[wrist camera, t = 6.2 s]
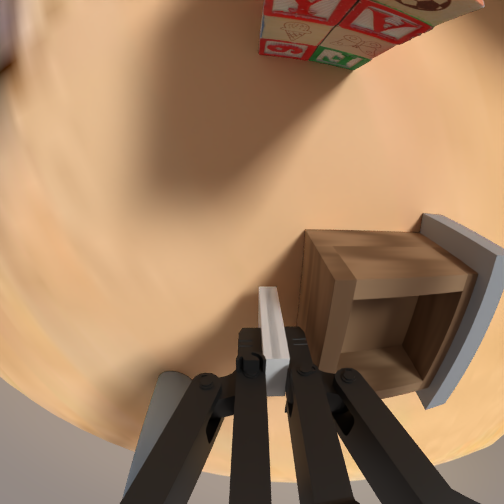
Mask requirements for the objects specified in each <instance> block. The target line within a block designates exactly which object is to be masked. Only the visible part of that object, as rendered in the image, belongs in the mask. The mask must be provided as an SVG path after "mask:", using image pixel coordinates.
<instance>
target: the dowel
mask: <svg viewBox="0 0 504 504" xmlns="http://www.w3.org/2000/svg"><path fill="white" fill-rule="evenodd" d="M191 382H192V380H191V379H190V378H189V377H188V376H186V375H184V374H182V373H179V372H174V371H167V372H163V373H162V374H160V375H159V377H158V380H157V383H156V386H155V389H154V392H153V395H152V398H151V402H150V405H149V408H148V411H147V414H146V417H145V420H144V424H143V427H142V430H141V434H140V437H139V440H138V444H137V447H136V450H135V454H134V457H133V461H132V465H131V468H130V473H129V476H128V479H127V483H126V487H125V491H124V495H123V497H124V496H125V494H126V492H127V491H128V489H129V487H130V486H131V484H132V482H133V481H134V479H135V477H136V476H137V474H138V472H139V471H140V469H141V467H142V466H143V464H144V462H145V460H146V459H147V457H148V455H149V454H150V452H151V450H152V449H153V447H154V445H155V444H156V442H157V440H158V438H159V437H160V435H161V433H162V432H163V430H164V428H165V426H166V425H167V423H168V421H169V420H170V418H171V416H172V414H173V413H174V411H175V409H176V408H177V406H178V404H179V402H180V401H181V399H182V397H183V395H184V394H185V392H186V390H187V388H188V387H189V385H190V383H191Z"/></svg>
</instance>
